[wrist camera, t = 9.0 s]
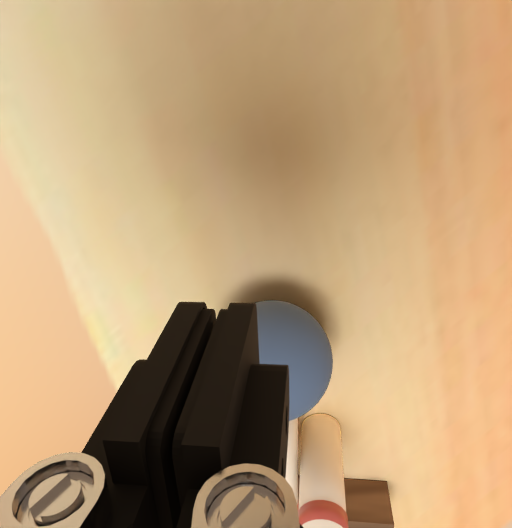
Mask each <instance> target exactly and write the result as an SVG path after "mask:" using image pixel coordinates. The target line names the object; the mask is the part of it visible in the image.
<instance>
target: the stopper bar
mask: <svg viewBox="0 0 512 528" xmlns="http://www.w3.org/2000/svg"><path fill="white" fill-rule="evenodd" d="M299 483H300V476H298V499H299ZM344 487H345V501H346V513H347V517H348V528H394V521H393V515H392V509H391V504H390V498H389V492H388V486H387V481H373V480H358V479H344Z"/></svg>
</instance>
